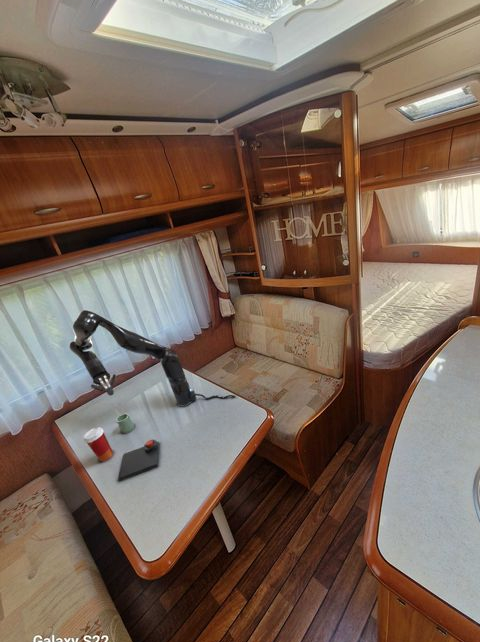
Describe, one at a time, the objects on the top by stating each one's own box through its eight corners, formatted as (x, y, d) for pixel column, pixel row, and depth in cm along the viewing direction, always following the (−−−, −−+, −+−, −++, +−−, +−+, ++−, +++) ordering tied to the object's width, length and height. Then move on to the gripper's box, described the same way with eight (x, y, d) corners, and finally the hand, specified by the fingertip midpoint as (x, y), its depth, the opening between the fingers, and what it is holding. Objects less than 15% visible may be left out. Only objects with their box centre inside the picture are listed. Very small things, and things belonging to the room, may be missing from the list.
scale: (159, 443, 131) (156, 437, 129) (157, 466, 118) (155, 460, 117) (125, 455, 128) (122, 450, 126) (119, 481, 115) (116, 475, 113)
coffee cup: (102, 451, 133) (88, 428, 127) (118, 447, 133) (105, 424, 127) (93, 465, 126) (78, 442, 120) (111, 461, 126) (97, 438, 120)
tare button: (153, 441, 128) (152, 439, 127) (153, 446, 125) (152, 443, 125) (147, 444, 127) (146, 441, 127) (146, 448, 125) (145, 445, 124)
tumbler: (134, 423, 149) (129, 411, 145) (133, 430, 143) (127, 419, 140) (123, 427, 147) (117, 415, 144) (121, 434, 142) (115, 423, 139)
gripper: (108, 365, 153) (124, 390, 150) (83, 377, 144) (99, 403, 141) (108, 360, 147) (124, 385, 144) (81, 371, 139) (98, 398, 136)
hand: (111, 394), depth 143 cm, fingers closed
